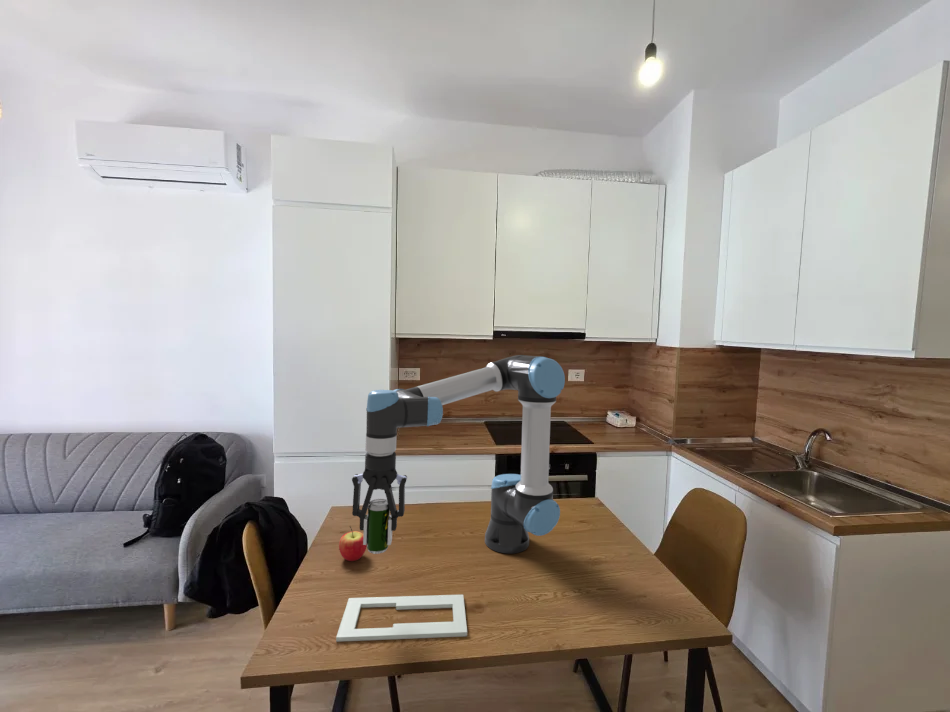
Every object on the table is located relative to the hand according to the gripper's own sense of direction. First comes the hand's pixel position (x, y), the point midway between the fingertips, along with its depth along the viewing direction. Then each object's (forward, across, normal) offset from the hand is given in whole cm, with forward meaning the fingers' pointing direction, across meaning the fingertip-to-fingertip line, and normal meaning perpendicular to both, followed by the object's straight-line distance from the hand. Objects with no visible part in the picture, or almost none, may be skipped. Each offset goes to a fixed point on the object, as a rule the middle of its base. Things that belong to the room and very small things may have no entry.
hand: (377, 542), depth 105 cm
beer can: (+2, 0, 0) cm, 2 cm away
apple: (+18, +11, -24) cm, 32 cm away
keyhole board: (+17, -8, +4) cm, 19 cm away
